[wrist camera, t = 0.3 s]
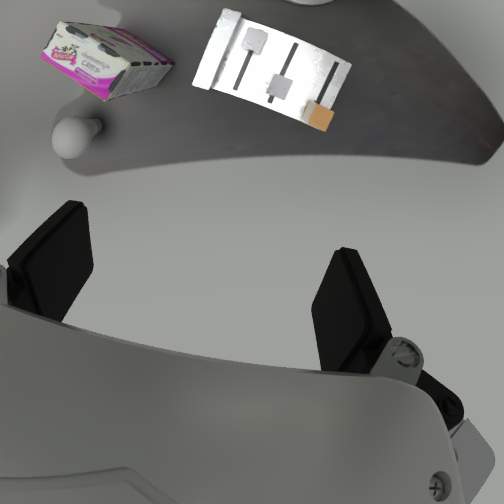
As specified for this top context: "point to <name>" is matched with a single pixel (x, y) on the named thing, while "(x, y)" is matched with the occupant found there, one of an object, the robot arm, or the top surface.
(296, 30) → the top surface
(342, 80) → the console
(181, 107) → the top surface
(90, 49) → the candy bar box
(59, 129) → the lightbulb
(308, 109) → the cap
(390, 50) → the top surface
